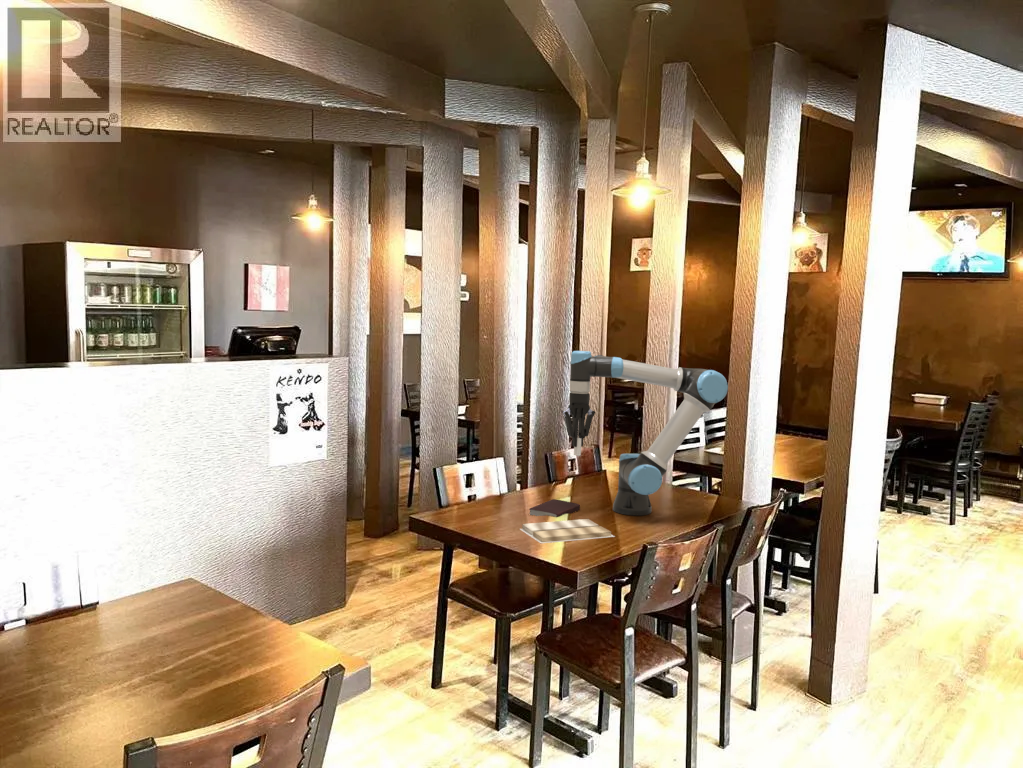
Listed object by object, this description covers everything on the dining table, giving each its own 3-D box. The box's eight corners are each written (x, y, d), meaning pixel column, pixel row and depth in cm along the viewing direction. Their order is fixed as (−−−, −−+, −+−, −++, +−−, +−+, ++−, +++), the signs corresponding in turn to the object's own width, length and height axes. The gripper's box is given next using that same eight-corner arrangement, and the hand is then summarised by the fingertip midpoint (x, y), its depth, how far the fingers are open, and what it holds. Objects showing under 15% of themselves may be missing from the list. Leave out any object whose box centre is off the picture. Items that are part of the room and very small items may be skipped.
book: (580, 511, 298) (580, 503, 298) (556, 521, 281) (557, 512, 281) (552, 506, 304) (552, 498, 304) (528, 516, 288) (528, 507, 288)
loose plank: (587, 522, 274) (588, 518, 274) (598, 529, 266) (598, 525, 266) (522, 528, 264) (522, 524, 264) (531, 535, 257) (531, 530, 256)
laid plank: (600, 530, 265) (600, 526, 265) (611, 536, 258) (611, 531, 258) (533, 536, 255) (533, 531, 255) (542, 542, 248) (542, 537, 248)
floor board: (589, 525, 274) (590, 523, 274) (614, 539, 258) (615, 536, 258) (519, 531, 264) (519, 528, 264) (540, 546, 247) (540, 543, 247)
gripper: (590, 391, 285) (587, 452, 287) (559, 391, 280) (557, 454, 282) (600, 393, 279) (597, 456, 280) (568, 393, 274) (566, 457, 275)
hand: (577, 455), depth 281 cm, fingers closed
